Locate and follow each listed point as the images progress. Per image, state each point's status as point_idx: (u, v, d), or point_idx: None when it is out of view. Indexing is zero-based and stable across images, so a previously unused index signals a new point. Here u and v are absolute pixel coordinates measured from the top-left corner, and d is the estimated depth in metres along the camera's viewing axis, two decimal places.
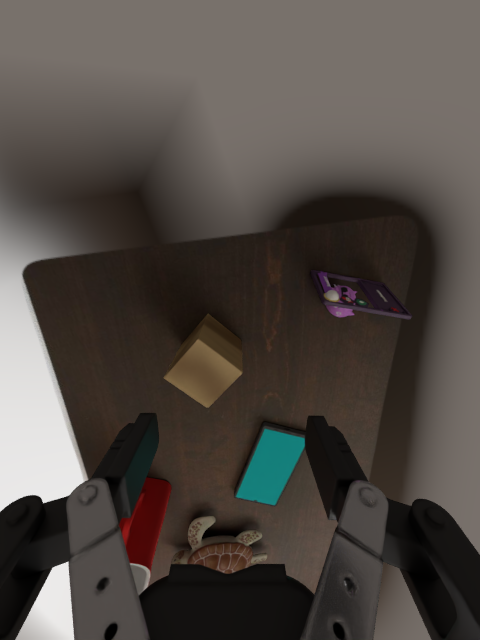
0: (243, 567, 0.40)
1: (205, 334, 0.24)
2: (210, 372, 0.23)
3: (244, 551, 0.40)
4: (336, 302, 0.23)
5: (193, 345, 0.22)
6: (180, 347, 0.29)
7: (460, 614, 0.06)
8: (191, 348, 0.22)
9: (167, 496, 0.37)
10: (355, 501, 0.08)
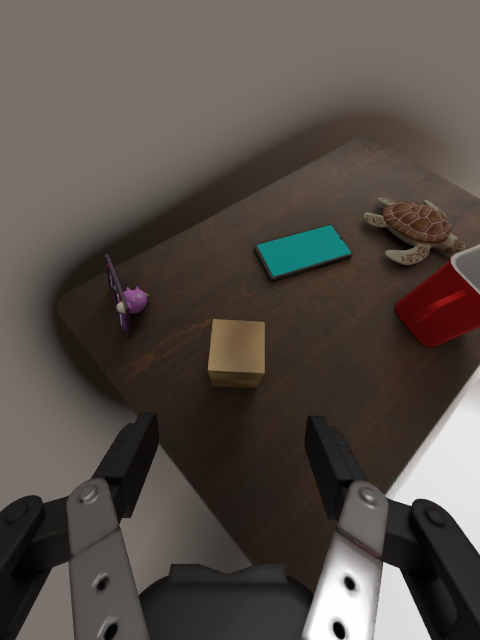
0: (400, 204, 0.41)
1: None
2: (231, 341, 0.24)
3: (388, 213, 0.41)
4: (122, 301, 0.28)
5: (216, 369, 0.23)
6: (253, 385, 0.29)
7: (460, 614, 0.06)
8: (220, 369, 0.23)
9: (402, 298, 0.35)
10: (355, 501, 0.08)
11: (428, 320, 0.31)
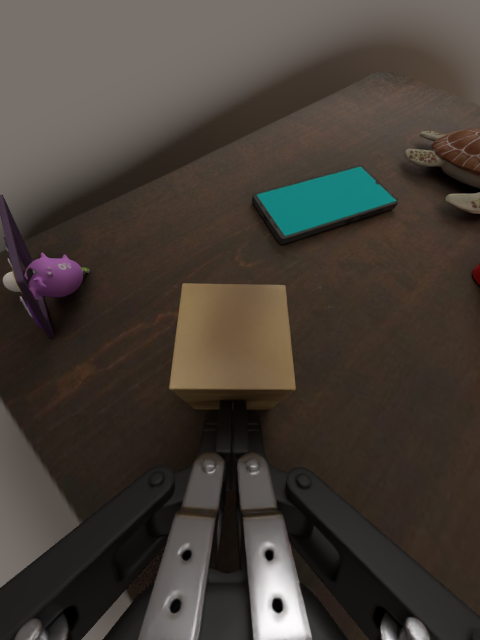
0: (459, 131, 0.29)
1: None
2: (220, 324, 0.12)
3: (442, 144, 0.29)
4: (13, 268, 0.15)
5: (188, 387, 0.10)
6: (266, 406, 0.16)
7: (343, 556, 0.07)
8: (196, 386, 0.10)
9: None
10: (245, 476, 0.09)
11: None
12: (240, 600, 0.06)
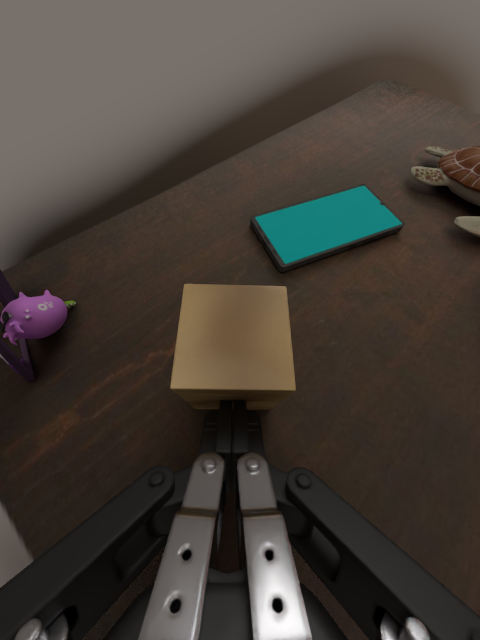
0: (467, 149, 0.28)
1: None
2: (221, 325, 0.12)
3: (450, 163, 0.27)
4: None
5: (189, 387, 0.10)
6: (266, 407, 0.16)
7: (343, 556, 0.07)
8: (197, 386, 0.10)
9: None
10: (245, 476, 0.09)
11: None
12: (240, 600, 0.06)
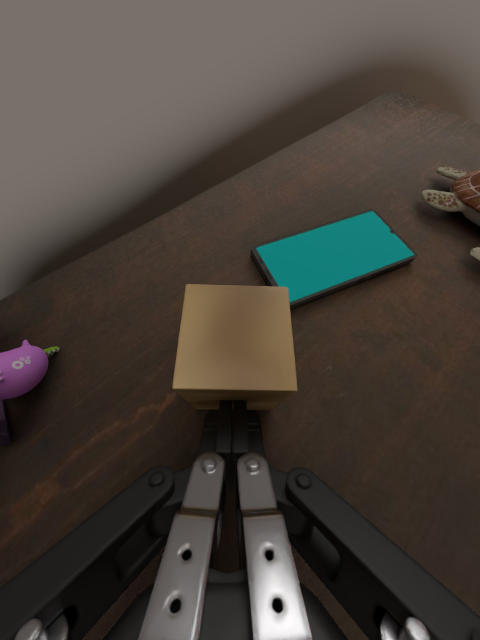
0: None
1: None
2: (223, 325, 0.12)
3: (465, 188, 0.25)
4: None
5: (191, 387, 0.10)
6: (268, 407, 0.16)
7: (343, 556, 0.07)
8: (199, 386, 0.10)
9: None
10: (245, 476, 0.09)
11: None
12: (240, 600, 0.06)
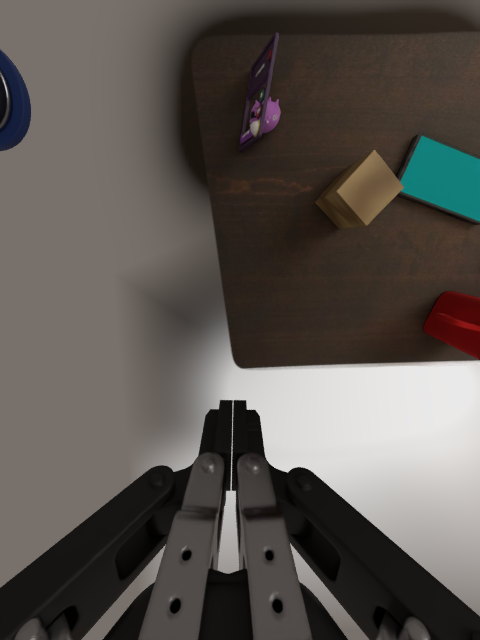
0: None
1: (333, 190, 0.29)
2: (368, 182, 0.27)
3: None
4: (260, 123, 0.26)
5: (341, 196, 0.27)
6: (342, 226, 0.34)
7: (343, 556, 0.07)
8: (344, 198, 0.27)
9: (456, 294, 0.37)
10: (245, 476, 0.09)
11: None
12: (240, 600, 0.06)
